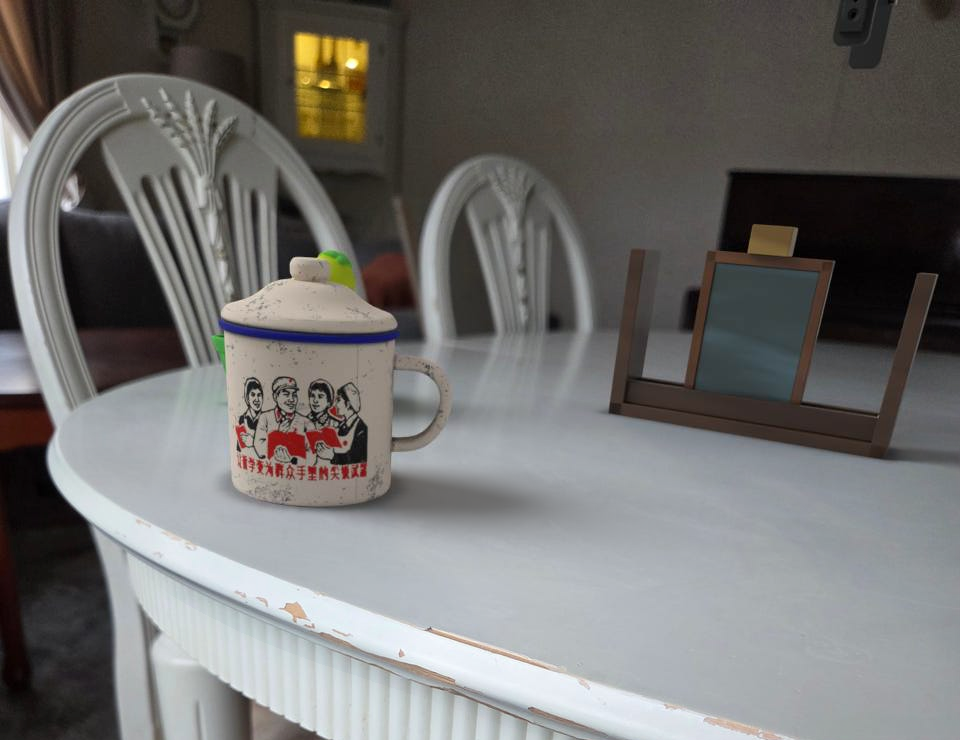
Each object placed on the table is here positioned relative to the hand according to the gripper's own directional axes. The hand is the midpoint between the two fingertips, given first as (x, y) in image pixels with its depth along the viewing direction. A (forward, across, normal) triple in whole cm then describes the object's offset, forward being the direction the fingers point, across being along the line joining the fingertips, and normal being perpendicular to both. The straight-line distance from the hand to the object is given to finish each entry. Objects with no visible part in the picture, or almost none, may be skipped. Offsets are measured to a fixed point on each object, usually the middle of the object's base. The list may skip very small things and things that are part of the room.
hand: (856, 57), depth 59 cm
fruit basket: (+26, -20, +33) cm, 47 cm away
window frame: (+26, -2, +2) cm, 26 cm away
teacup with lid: (+26, -37, +17) cm, 48 cm away
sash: (+25, -2, +3) cm, 25 cm away
